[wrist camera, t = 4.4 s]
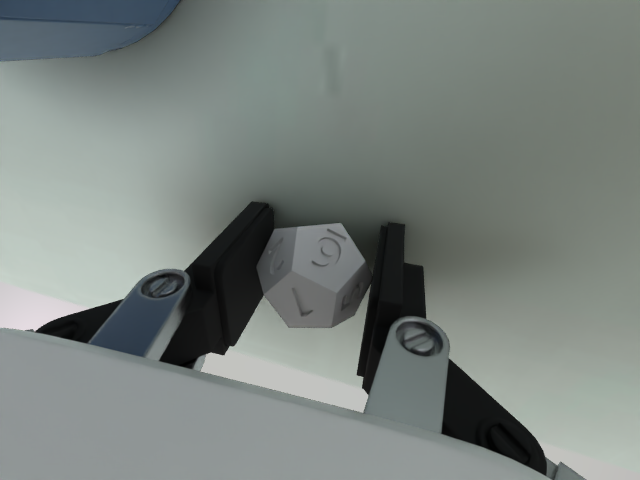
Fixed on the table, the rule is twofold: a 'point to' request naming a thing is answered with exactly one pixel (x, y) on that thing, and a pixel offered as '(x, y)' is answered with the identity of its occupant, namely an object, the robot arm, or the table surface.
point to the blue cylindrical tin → (75, 26)
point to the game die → (313, 275)
